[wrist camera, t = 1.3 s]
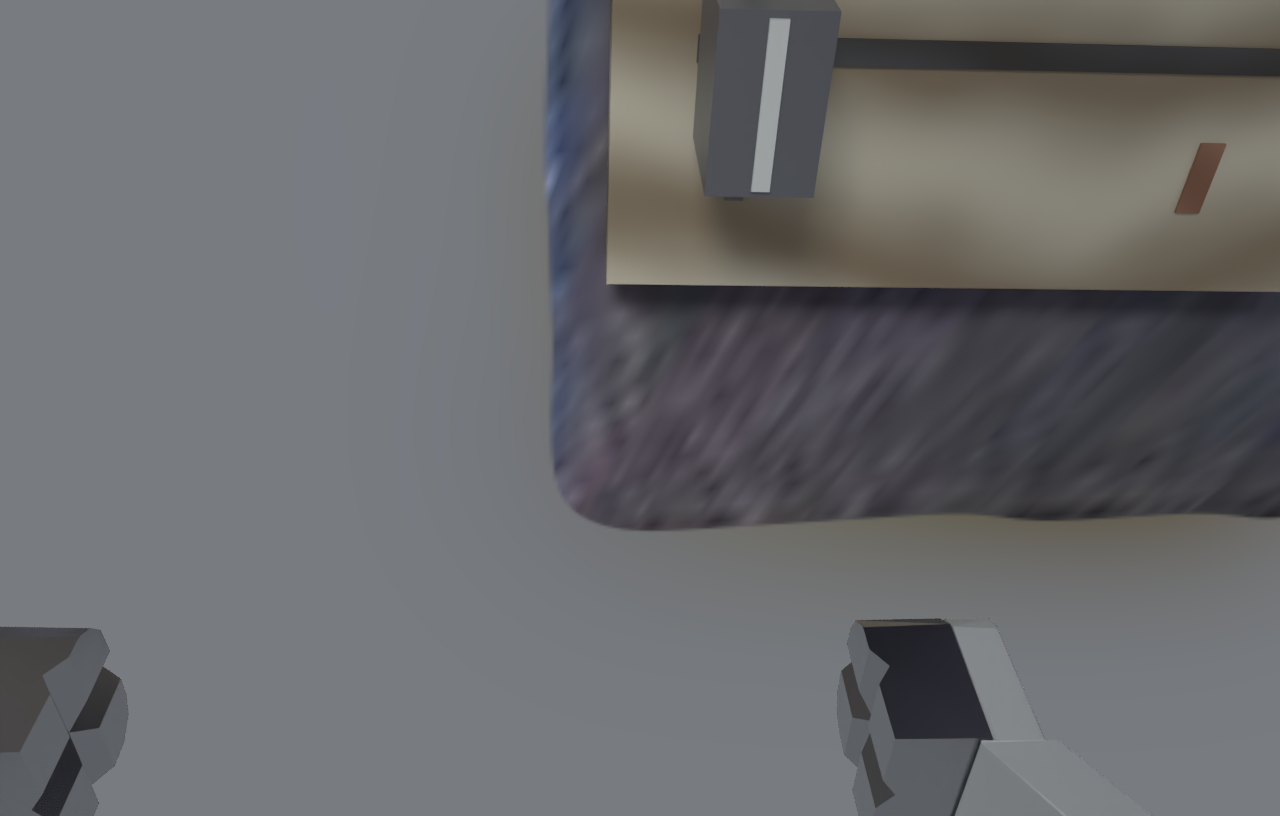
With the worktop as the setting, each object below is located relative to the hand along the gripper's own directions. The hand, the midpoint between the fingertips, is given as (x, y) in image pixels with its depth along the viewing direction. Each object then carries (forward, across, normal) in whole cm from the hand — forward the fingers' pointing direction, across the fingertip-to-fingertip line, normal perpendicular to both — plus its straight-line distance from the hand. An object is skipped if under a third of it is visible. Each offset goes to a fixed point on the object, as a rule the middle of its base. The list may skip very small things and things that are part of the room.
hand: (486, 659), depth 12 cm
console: (+25, -14, 0) cm, 29 cm away
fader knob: (+23, -6, 0) cm, 23 cm away
